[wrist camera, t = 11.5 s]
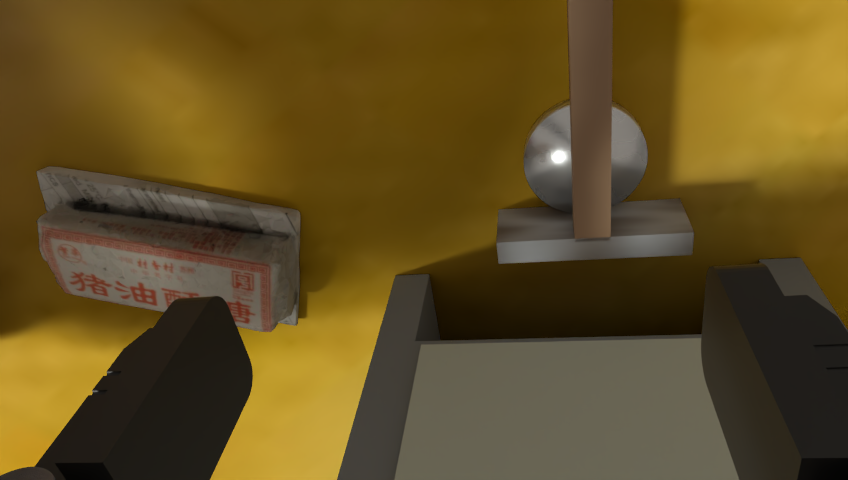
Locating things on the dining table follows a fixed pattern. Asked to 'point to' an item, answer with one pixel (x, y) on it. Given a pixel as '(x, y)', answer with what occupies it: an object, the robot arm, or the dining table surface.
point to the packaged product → (169, 246)
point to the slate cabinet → (538, 402)
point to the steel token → (553, 156)
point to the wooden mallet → (592, 172)
